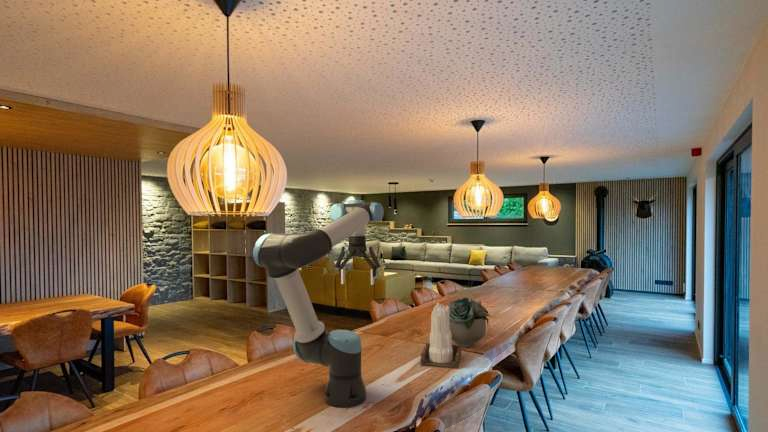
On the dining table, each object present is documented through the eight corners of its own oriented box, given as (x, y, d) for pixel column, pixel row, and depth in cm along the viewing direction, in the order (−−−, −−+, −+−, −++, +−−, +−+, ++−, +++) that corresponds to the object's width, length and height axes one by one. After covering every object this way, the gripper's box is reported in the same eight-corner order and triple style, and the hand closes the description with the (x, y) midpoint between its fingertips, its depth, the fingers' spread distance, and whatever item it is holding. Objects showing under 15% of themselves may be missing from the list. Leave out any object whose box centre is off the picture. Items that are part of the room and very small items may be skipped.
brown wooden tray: (458, 368, 176) (458, 357, 176) (420, 365, 180) (420, 354, 180) (461, 356, 192) (461, 345, 192) (426, 353, 196) (426, 343, 196)
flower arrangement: (500, 349, 202) (499, 299, 203) (456, 355, 194) (455, 303, 194) (473, 336, 226) (472, 292, 226) (432, 341, 217) (432, 295, 218)
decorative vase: (452, 363, 179) (451, 306, 180) (428, 362, 181) (427, 306, 182) (453, 355, 190) (452, 302, 190) (430, 354, 192) (429, 301, 193)
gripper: (386, 235, 179) (387, 283, 179) (333, 235, 185) (334, 282, 185) (382, 235, 172) (383, 286, 171) (327, 235, 178) (327, 284, 178)
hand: (357, 284), depth 178 cm, fingers open, 13 cm apart
